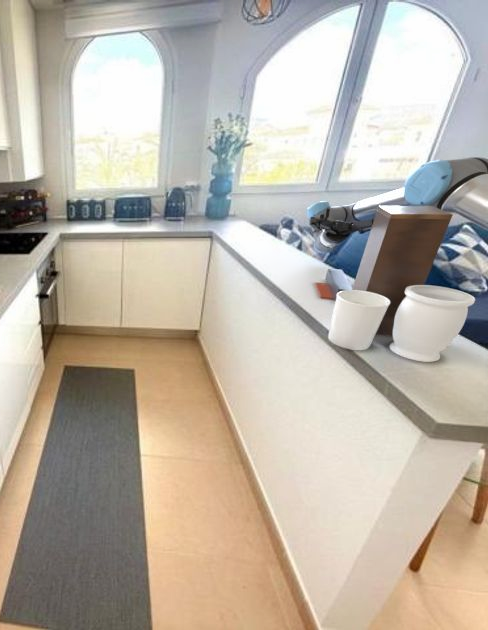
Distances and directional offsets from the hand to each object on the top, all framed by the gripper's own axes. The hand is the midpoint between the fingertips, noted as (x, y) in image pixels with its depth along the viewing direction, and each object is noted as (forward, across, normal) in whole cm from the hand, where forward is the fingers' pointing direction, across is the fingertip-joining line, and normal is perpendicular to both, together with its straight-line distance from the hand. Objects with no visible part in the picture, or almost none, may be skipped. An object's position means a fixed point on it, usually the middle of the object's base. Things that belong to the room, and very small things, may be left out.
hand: (354, 212), depth 105 cm
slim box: (-8, 0, -23) cm, 24 cm away
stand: (+12, -4, -35) cm, 37 cm away
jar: (+23, -9, -42) cm, 49 cm away
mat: (-8, 0, -24) cm, 25 cm away
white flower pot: (+22, +3, -41) cm, 47 cm away
